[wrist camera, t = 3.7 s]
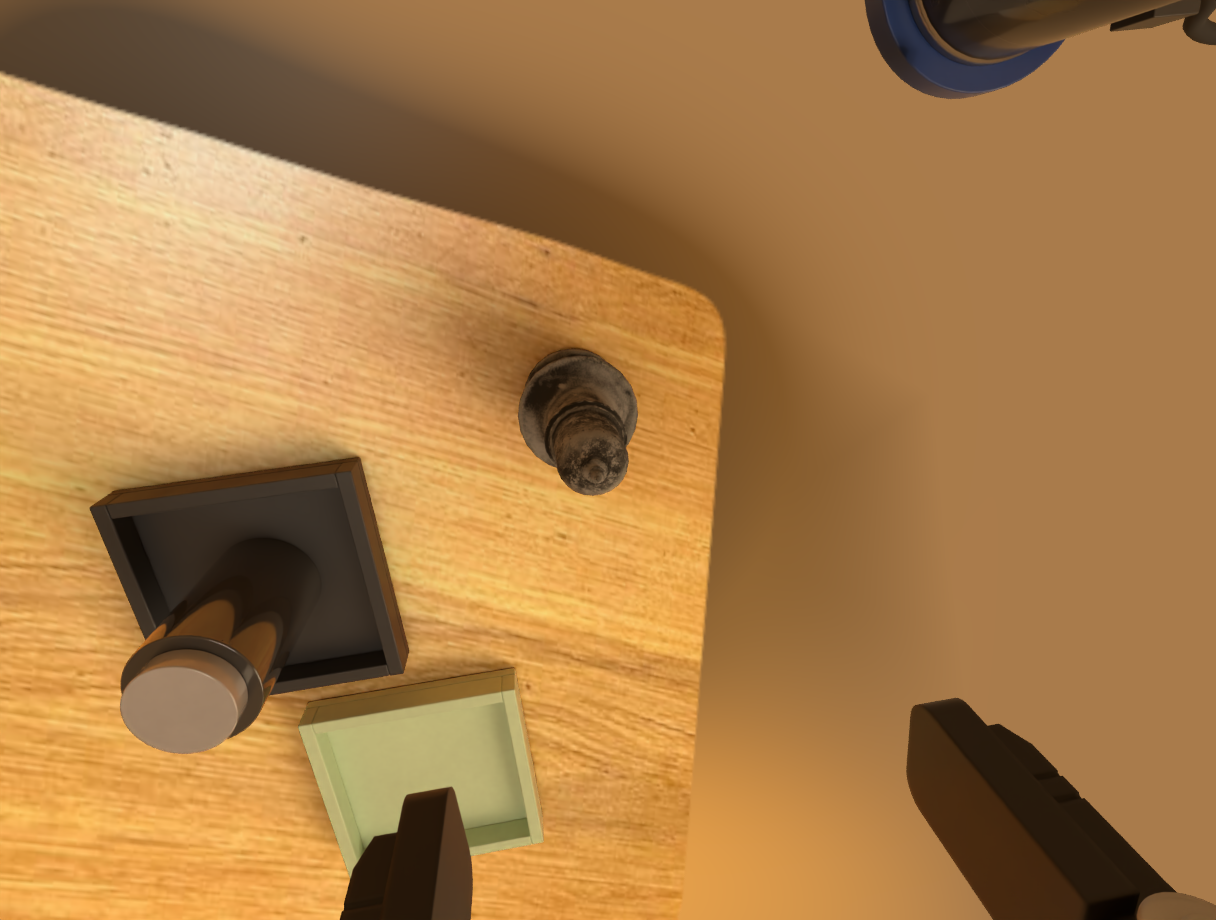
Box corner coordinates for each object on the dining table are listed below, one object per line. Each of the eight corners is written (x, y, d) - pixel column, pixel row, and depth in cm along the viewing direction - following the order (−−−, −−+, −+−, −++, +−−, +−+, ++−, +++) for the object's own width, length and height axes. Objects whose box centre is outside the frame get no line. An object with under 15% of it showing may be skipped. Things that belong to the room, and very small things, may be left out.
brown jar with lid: (307, 529, 35) (229, 643, 26) (332, 617, 37) (269, 752, 28) (199, 545, 35) (79, 667, 25) (231, 633, 37) (131, 776, 27)
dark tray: (360, 456, 35) (350, 470, 33) (409, 651, 39) (403, 673, 37) (112, 491, 34) (87, 507, 32) (192, 686, 38) (174, 711, 36)
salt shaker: (624, 447, 37) (671, 547, 26) (519, 449, 36) (519, 552, 25) (628, 343, 35) (681, 401, 24) (517, 342, 34) (516, 402, 23)
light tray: (515, 667, 41) (514, 689, 39) (542, 815, 45) (543, 842, 43) (307, 701, 40) (297, 726, 38) (357, 850, 44) (349, 879, 42)
